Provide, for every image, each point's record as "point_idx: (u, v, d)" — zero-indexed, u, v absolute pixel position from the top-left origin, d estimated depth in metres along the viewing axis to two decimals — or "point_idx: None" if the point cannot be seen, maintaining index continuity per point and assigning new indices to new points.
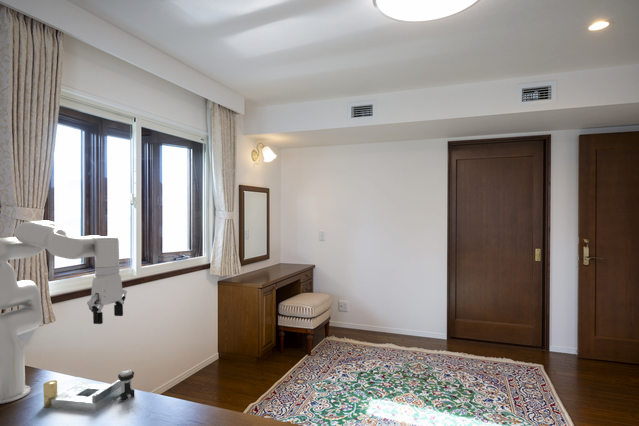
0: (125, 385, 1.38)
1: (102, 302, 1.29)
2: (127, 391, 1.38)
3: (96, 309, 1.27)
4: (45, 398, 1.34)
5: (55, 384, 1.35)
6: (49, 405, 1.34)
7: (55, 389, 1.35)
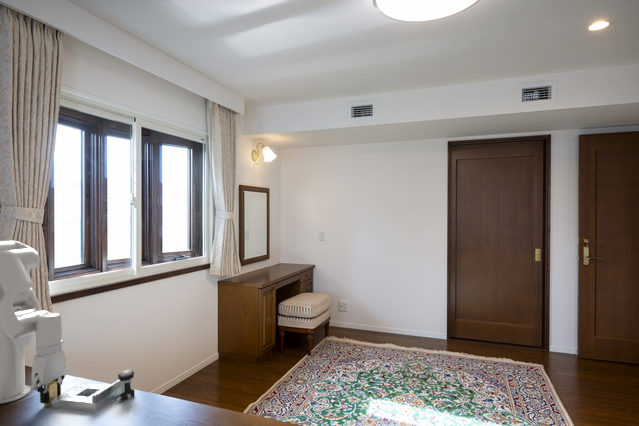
0: (125, 385, 1.38)
1: (42, 382, 1.30)
2: (127, 391, 1.38)
3: (42, 391, 1.31)
4: None
5: (55, 384, 1.35)
6: (49, 405, 1.34)
7: (55, 389, 1.35)
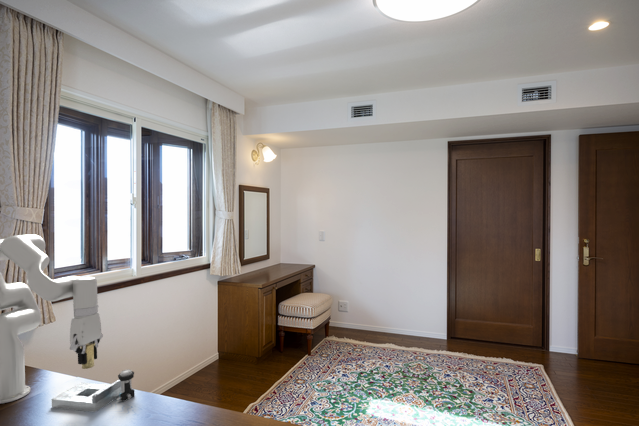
0: (125, 385, 1.38)
1: (80, 343, 1.33)
2: (127, 391, 1.38)
3: (80, 352, 1.34)
4: None
5: (92, 346, 1.38)
6: (87, 366, 1.36)
7: (92, 351, 1.38)
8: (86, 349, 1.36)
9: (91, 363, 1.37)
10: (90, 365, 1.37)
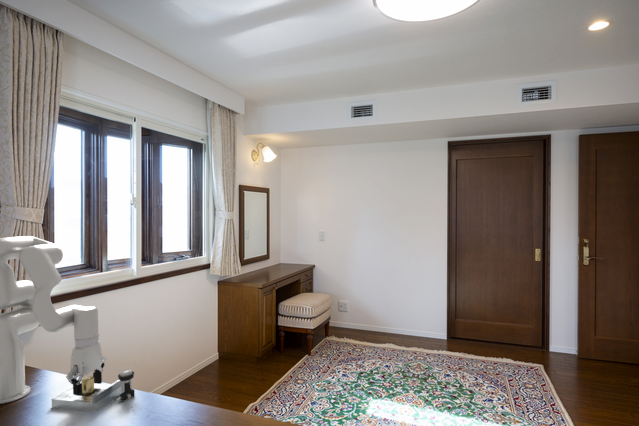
0: (125, 385, 1.38)
1: (81, 374, 1.33)
2: (127, 391, 1.38)
3: (75, 382, 1.32)
4: (83, 394, 1.36)
5: (92, 380, 1.38)
6: None
7: (92, 385, 1.38)
8: (86, 384, 1.36)
9: None
10: None
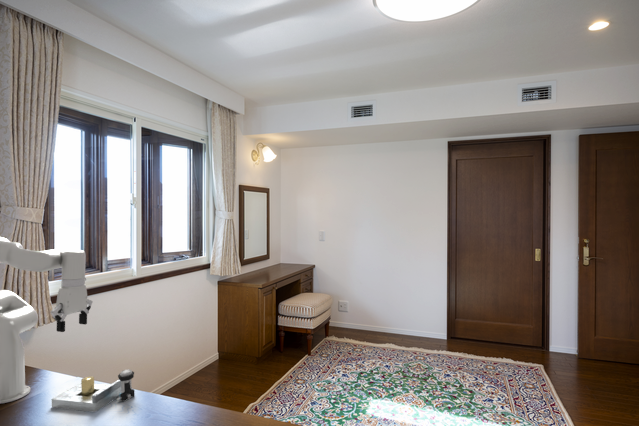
0: (125, 385, 1.38)
1: (65, 312, 1.39)
2: (127, 391, 1.38)
3: (59, 318, 1.38)
4: (83, 394, 1.36)
5: (92, 380, 1.38)
6: None
7: (92, 385, 1.38)
8: (86, 383, 1.36)
9: None
10: None
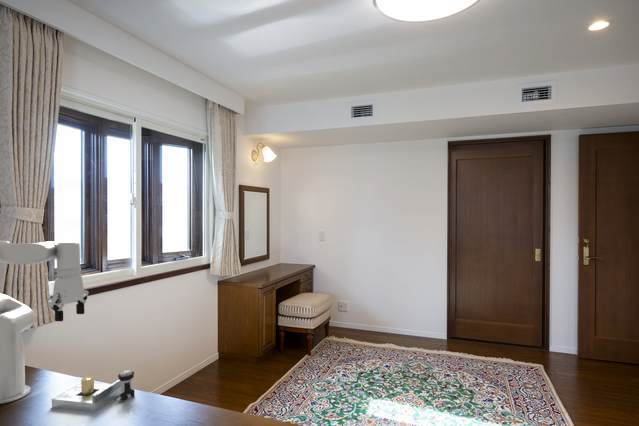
0: (125, 385, 1.38)
1: (63, 301, 1.41)
2: (127, 391, 1.38)
3: (57, 308, 1.40)
4: (83, 394, 1.36)
5: (92, 380, 1.38)
6: None
7: (92, 385, 1.38)
8: (86, 384, 1.36)
9: None
10: None
